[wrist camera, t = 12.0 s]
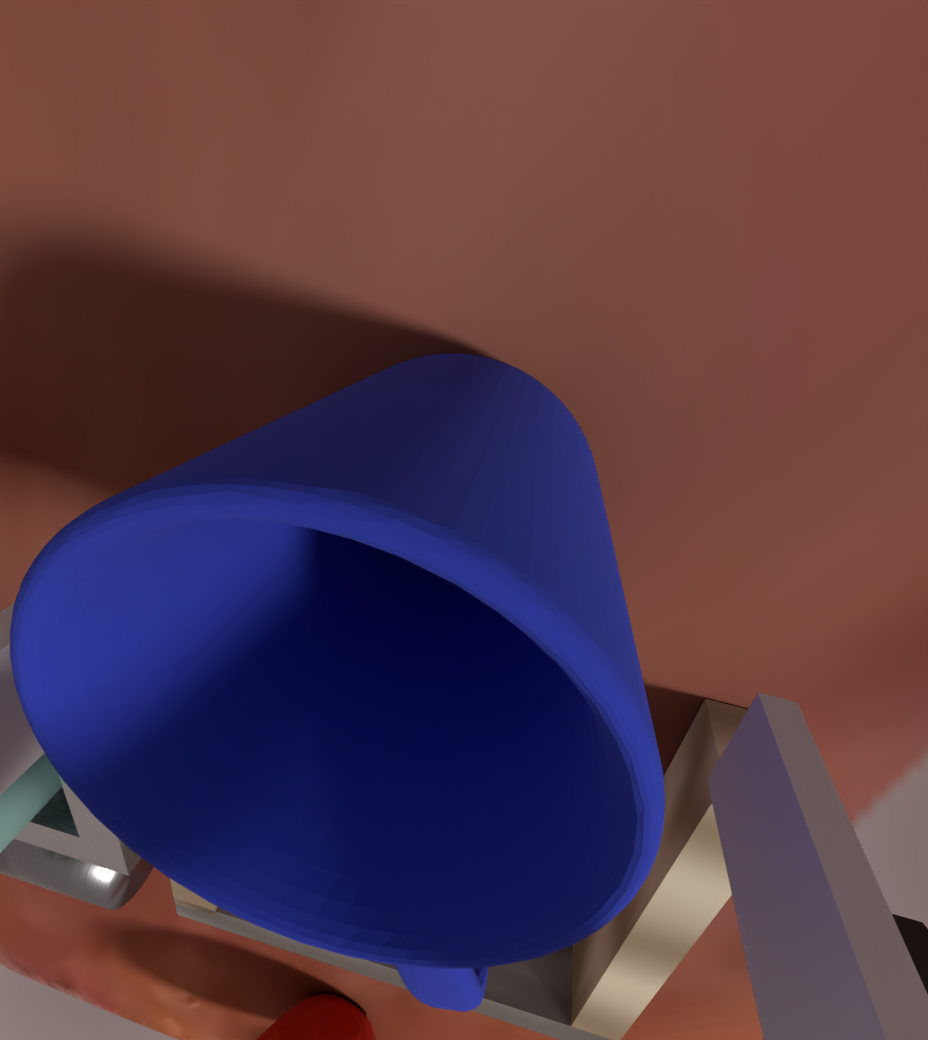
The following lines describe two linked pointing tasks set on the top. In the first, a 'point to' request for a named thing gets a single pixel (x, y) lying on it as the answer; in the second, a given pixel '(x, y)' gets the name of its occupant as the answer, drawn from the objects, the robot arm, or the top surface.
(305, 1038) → the apple
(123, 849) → the block
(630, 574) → the top surface
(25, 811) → the crank peg
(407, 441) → the mug
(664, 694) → the top surface
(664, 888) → the bay
